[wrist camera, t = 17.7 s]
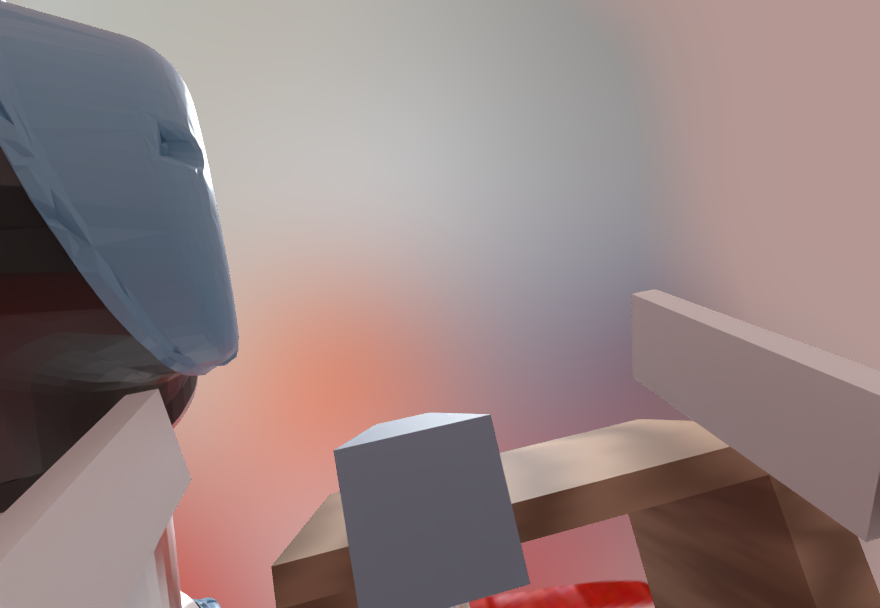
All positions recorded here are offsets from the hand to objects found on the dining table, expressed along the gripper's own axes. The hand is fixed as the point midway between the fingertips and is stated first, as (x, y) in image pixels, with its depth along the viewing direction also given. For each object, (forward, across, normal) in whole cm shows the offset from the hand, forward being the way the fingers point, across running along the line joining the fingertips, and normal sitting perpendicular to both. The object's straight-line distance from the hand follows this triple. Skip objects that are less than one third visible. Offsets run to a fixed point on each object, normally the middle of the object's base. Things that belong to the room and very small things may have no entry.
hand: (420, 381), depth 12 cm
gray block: (+6, 0, -10) cm, 11 cm away
